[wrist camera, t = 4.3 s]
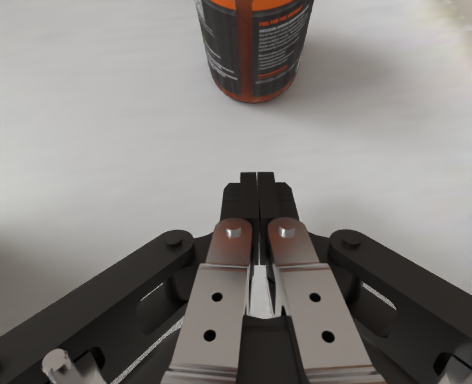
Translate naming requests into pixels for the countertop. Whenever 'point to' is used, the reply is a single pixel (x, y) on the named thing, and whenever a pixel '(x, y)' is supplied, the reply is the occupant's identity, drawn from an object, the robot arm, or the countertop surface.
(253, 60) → the supplement bottle
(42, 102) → the countertop surface
